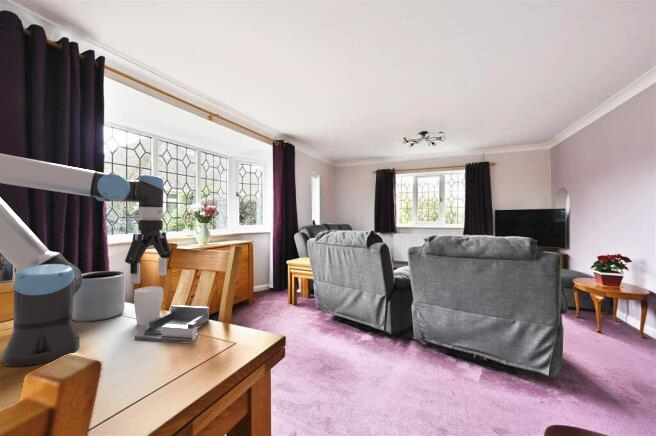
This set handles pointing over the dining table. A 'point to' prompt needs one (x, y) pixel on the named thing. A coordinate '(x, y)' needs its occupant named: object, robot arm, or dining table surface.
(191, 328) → the grey flat block
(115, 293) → the planter
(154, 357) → the dining table surface
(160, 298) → the cup
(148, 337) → the guide
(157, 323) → the grey rail tray
